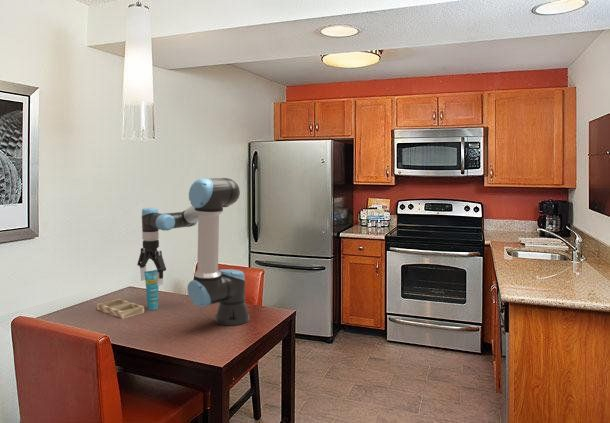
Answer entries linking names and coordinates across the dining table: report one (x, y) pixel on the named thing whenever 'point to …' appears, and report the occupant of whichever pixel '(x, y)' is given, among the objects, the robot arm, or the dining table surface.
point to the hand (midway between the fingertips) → (151, 282)
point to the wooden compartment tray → (120, 308)
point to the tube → (151, 289)
